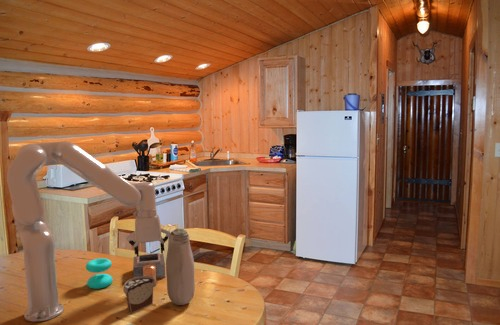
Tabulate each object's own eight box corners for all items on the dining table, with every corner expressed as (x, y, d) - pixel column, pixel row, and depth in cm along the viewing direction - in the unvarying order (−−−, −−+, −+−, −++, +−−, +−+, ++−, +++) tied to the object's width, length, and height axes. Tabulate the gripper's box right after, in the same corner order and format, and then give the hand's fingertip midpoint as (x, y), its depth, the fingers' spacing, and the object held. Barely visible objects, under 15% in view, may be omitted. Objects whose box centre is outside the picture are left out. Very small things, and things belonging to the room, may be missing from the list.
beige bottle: (198, 305, 151) (195, 231, 147) (170, 311, 147) (166, 235, 144) (191, 294, 160) (189, 224, 156) (165, 299, 156) (162, 227, 153)
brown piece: (145, 297, 158) (144, 272, 157) (155, 302, 154) (154, 276, 153) (117, 310, 149) (115, 283, 147) (127, 315, 145) (126, 288, 144)
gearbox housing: (165, 277, 177) (164, 261, 176) (133, 281, 174) (133, 264, 173) (163, 266, 189) (163, 251, 188) (134, 269, 186) (133, 254, 185)
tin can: (156, 287, 167) (155, 268, 166) (143, 288, 166) (142, 269, 165) (156, 282, 172) (155, 264, 171) (143, 283, 171) (142, 265, 170)
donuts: (106, 255, 177) (115, 261, 169) (107, 277, 178) (116, 285, 170) (82, 261, 170) (90, 268, 163) (83, 284, 172) (92, 292, 164)
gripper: (123, 217, 159) (127, 260, 162) (169, 213, 164) (172, 254, 166) (124, 213, 167) (128, 253, 169) (168, 208, 171) (170, 248, 173)
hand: (149, 254), depth 168 cm, fingers open, 9 cm apart
